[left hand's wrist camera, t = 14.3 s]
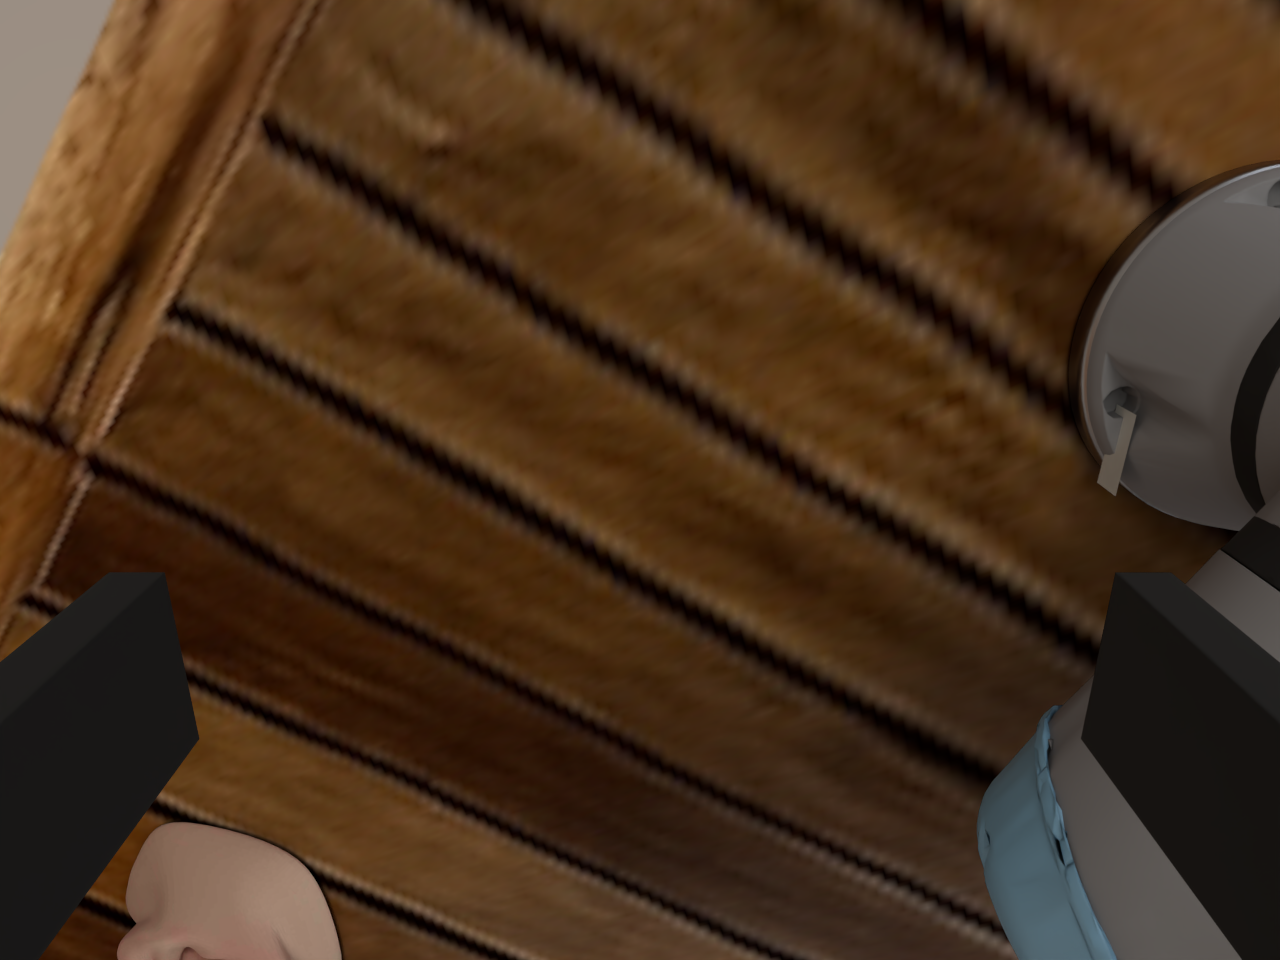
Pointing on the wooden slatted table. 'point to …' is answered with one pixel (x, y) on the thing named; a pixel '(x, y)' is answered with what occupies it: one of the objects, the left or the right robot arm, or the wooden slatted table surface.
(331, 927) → the anatomical model
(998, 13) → the wooden slatted table surface
